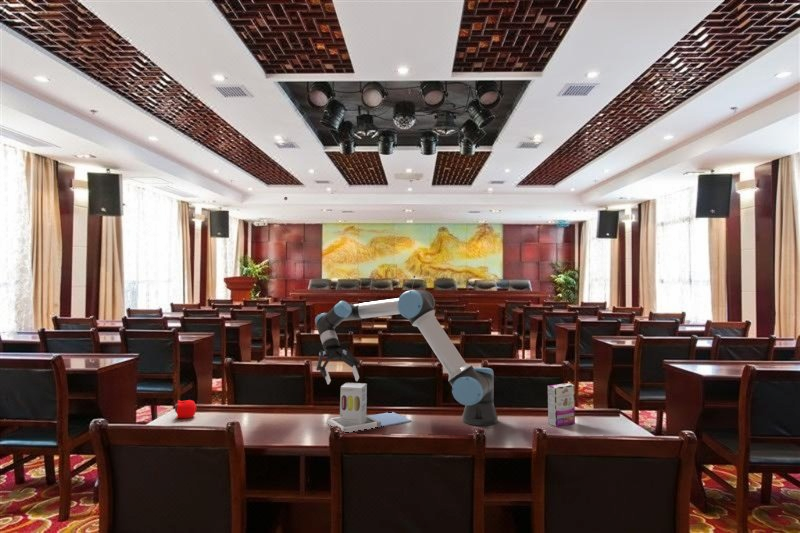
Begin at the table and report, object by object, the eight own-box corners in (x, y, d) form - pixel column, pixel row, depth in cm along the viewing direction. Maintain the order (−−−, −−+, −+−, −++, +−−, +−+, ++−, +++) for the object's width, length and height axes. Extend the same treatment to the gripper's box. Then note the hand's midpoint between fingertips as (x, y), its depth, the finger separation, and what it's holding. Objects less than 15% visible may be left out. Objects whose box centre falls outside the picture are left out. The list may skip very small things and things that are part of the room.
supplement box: (339, 428, 196) (339, 386, 197) (345, 421, 205) (345, 382, 206) (361, 429, 195) (362, 387, 195) (366, 422, 204) (367, 382, 204)
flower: (196, 407, 207) (175, 408, 205) (195, 422, 210) (175, 423, 207) (197, 396, 214) (177, 397, 211) (196, 410, 217) (177, 411, 214)
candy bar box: (566, 420, 208) (566, 382, 209) (575, 423, 204) (575, 385, 205) (547, 424, 203) (547, 385, 204) (556, 427, 199) (555, 387, 199)
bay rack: (411, 421, 206) (411, 417, 206) (342, 433, 189) (342, 428, 189) (392, 413, 219) (392, 408, 219) (326, 423, 202) (326, 418, 203)
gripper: (352, 345, 230) (366, 382, 217) (302, 349, 217) (314, 388, 204) (357, 335, 226) (372, 373, 212) (306, 338, 213) (319, 378, 199)
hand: (343, 380), depth 208 cm, fingers open, 13 cm apart
